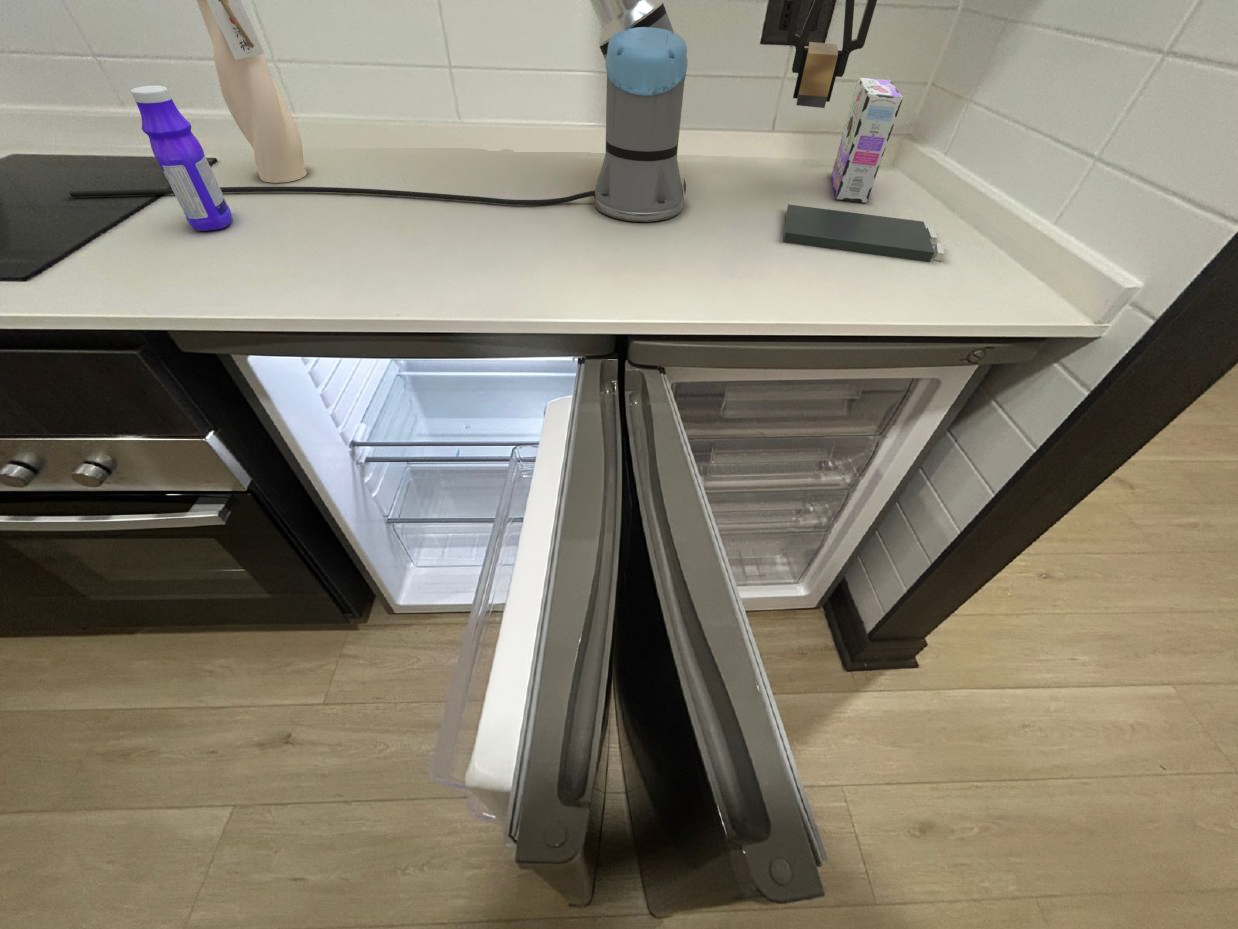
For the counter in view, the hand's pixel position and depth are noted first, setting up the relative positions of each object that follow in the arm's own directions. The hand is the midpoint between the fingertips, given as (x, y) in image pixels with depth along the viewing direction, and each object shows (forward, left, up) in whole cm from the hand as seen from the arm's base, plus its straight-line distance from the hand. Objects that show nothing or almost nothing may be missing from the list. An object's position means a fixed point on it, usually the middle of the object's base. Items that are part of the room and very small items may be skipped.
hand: (811, 97), depth 93 cm
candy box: (+11, +4, -15) cm, 19 cm away
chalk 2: (+23, -21, -14) cm, 34 cm away
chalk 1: (+22, -16, -14) cm, 31 cm away
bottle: (-85, -46, -15) cm, 98 cm away
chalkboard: (+11, -18, -14) cm, 26 cm away
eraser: (0, 0, 0) cm, 0 cm away
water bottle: (-88, -25, -15) cm, 93 cm away
